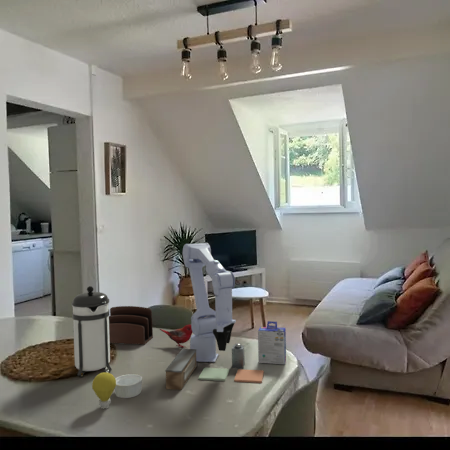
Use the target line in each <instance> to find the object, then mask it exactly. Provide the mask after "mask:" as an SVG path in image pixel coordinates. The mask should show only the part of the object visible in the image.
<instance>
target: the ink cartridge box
mask: <svg viewBox="0 0 450 450" xmlns="http://www.w3.org/2000/svg"><path fill="white" fill-rule="evenodd" d="M270 324H274V325H270ZM286 331H287V330H286V327H279V326H278V321H269V320H267V322H266V326H259V328H258V331H257V339H258V340H257V341H258V342H257V345H258V346H257V348H258V350H257V351H258V356H257V357H258V364H269V365H270V364H271V365H285V364H286V361H287V336H286V335H287V332H286Z"/></svg>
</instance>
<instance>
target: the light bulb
mask: <svg viewBox="0 0 450 450" xmlns="http://www.w3.org/2000/svg"><path fill="white" fill-rule="evenodd" d="M115 378H116V376H114V375H113V374H112V373H110V372H106V371H105V372H100V373H98V374H97V375H95V377H94V378H93V380H92V383H91V387H92V390H93V392H94V393H95V395H96V397H97V398H98V399H99V400H98V405H100V409H102V408H106V409H108V408H110V404H111V396H112V395H113V393H114V392H115V387H116V379H115ZM107 407H108V408H107Z"/></svg>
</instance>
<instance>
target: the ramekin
mask: <svg viewBox="0 0 450 450" xmlns="http://www.w3.org/2000/svg"><path fill="white" fill-rule="evenodd" d="M115 379H116V387H115V389H114V394H115V396H116V397H118V398H120V399H121V398H122V399H130V398H134V397H137V396H139V395H140V394H141V392H142V386H143V385H142V384H143V376H142V375H140V374H135V373H128V374H123V375H119V376H117V377H115Z"/></svg>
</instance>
